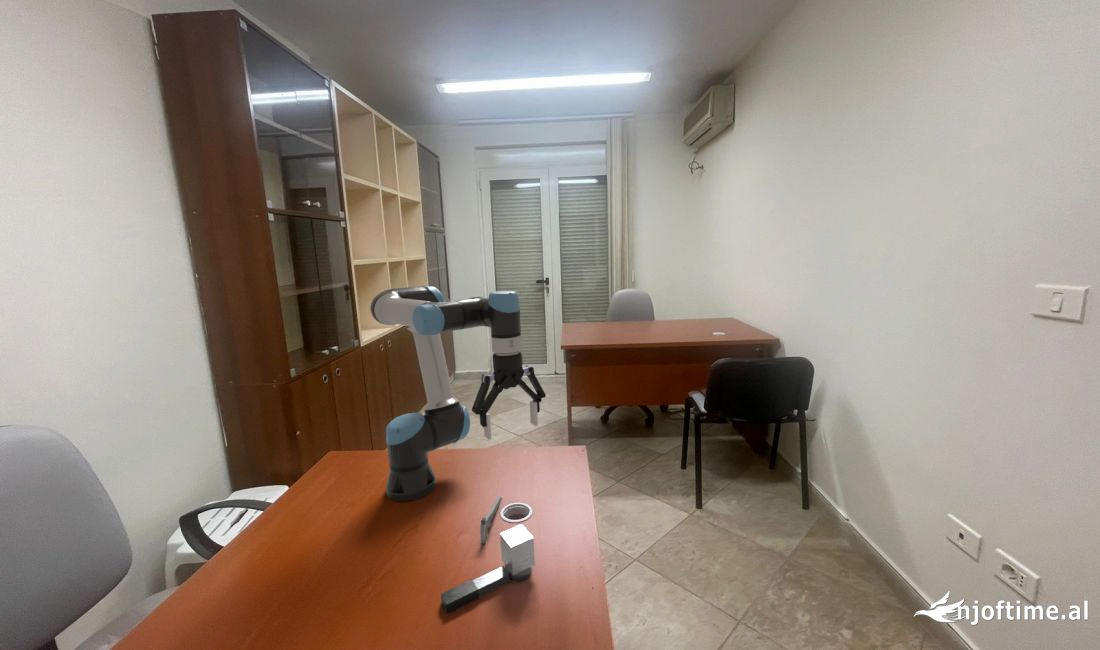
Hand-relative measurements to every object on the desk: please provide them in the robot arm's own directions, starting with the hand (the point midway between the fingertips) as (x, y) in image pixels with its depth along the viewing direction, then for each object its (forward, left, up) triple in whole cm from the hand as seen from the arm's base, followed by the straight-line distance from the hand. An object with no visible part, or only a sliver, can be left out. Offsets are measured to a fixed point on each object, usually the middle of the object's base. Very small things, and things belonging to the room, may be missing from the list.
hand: (511, 430), depth 107 cm
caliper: (-5, -5, -27) cm, 28 cm away
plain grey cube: (+16, -8, -24) cm, 30 cm away
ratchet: (+16, -15, -27) cm, 35 cm away
